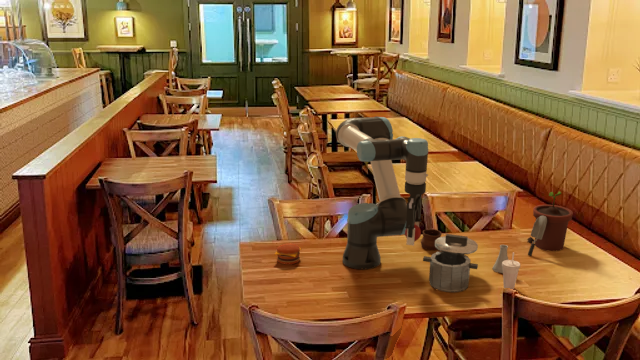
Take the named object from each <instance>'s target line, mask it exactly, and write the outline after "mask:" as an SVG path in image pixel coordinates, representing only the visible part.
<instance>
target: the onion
mask: <svg viewBox="0 0 640 360" xmlns="http://www.w3.org/2000/svg"><path fill="white" fill-rule="evenodd" d="M414 227H415V239H414V243H415V242H416V241H417V240H419V239H420V237H421V235H422V230H421V228H420V226H419V227H418V226H417V225H416V224H415V226H414ZM404 237H405V238H406V239H407V229H406V230H405V234H404Z"/></svg>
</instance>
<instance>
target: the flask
mask: <svg viewBox="0 0 640 360" xmlns="http://www.w3.org/2000/svg"><path fill="white" fill-rule="evenodd" d="M499 248H500V249H499V252H498V256H497V258H496V260H495V263H494V264H493V266H492V270H493V271H494V273H500V274H503V266H502V262H503V261H504V260H509V257H508V248H509V246H508V245H507V244H500V245H499Z"/></svg>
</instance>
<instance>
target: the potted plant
mask: <svg viewBox="0 0 640 360" xmlns="http://www.w3.org/2000/svg"><path fill="white" fill-rule="evenodd" d="M562 194H563V193H562V191H558V192H557V193H555V194H554V192H553V191H551V192H549V194H548V196H549V197H552V198H553V203H552V204H539V205H535V206H534V207H533V208H532V209H533V212H532V216H533V218H535V222H534V223H533V226H532V229H531V233H530V236H529V237H528V238H527V243H529V244H530V247H529V251H528V253H527V255H528V256H530V257H531V256H533V251H534V249H535V247H536V248H538V249H540V250H543V251H548V252H559V251H563V249H564V248H565V240H566V235H567V231H568V226H569V222H571V221H572V220H573V215H574V213H573V212H574V211H572V210H571V209H570V208H568V207H564V206H561V205H556V204H555V201H556V197H558V196H560V195H562Z"/></svg>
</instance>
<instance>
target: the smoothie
mask: <svg viewBox="0 0 640 360" xmlns="http://www.w3.org/2000/svg"><path fill="white" fill-rule="evenodd" d="M514 259H515V251H514V252H513V251H512V257H511V259H508V260H504V261H503V262H502V266H503V273H502V275H503V276H502V278H503V288H504V289H505V288H510V289H513V290H514V289H515V287H516V283H517V279H518V273H519V269H520V268H521V262H519V261H517V260H514Z"/></svg>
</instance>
